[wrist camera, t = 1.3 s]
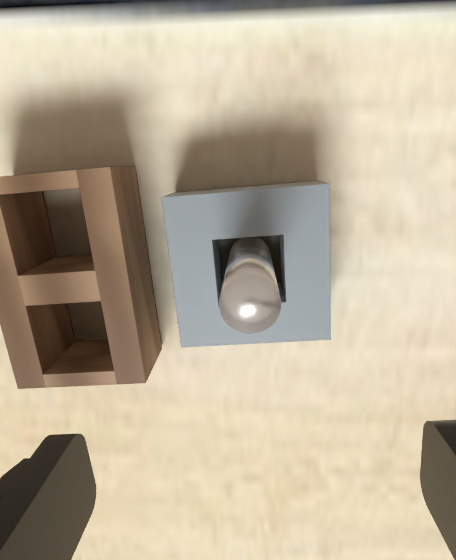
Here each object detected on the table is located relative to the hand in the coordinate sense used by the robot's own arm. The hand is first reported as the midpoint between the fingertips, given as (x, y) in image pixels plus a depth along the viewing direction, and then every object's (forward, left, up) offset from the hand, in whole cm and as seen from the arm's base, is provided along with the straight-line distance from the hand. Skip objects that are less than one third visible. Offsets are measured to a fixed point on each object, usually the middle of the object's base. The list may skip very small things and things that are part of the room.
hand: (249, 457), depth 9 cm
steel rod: (0, 0, -20) cm, 20 cm away
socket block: (0, 0, -20) cm, 20 cm away
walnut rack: (+12, 0, -20) cm, 23 cm away
